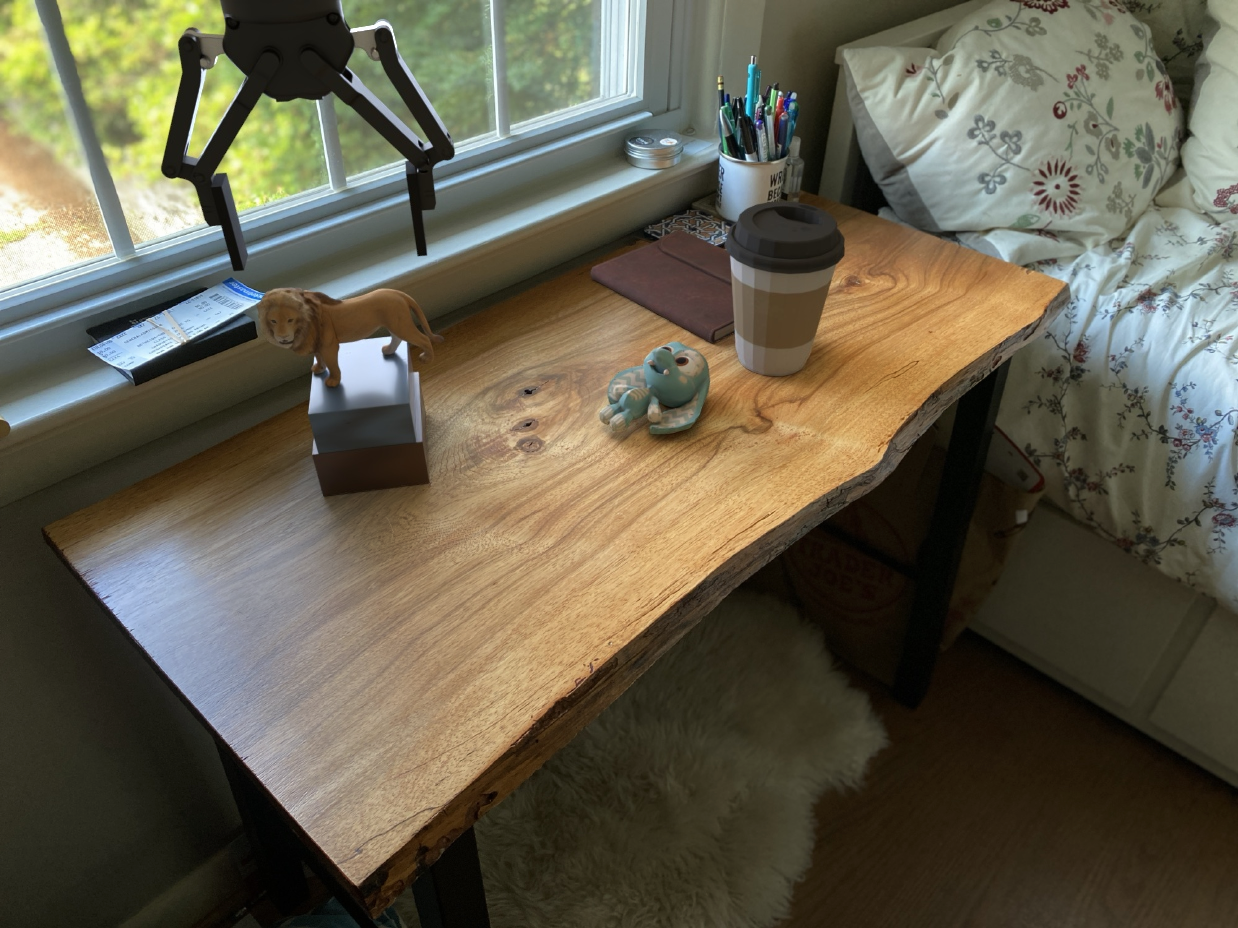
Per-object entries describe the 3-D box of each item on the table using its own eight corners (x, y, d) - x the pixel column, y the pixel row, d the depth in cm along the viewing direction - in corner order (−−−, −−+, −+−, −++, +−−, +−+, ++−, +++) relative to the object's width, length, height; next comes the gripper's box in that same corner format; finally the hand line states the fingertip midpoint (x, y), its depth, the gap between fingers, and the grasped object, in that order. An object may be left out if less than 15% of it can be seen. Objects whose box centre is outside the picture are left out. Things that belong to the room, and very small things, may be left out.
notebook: (710, 345, 98) (712, 328, 97) (590, 280, 110) (590, 264, 109) (802, 298, 106) (805, 283, 105) (681, 242, 118) (681, 227, 116)
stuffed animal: (562, 364, 85) (659, 302, 90) (576, 421, 90) (667, 359, 95) (638, 416, 79) (738, 346, 83) (649, 474, 84) (743, 405, 88)
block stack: (322, 496, 79) (301, 415, 74) (328, 422, 88) (309, 344, 82) (429, 483, 81) (415, 402, 75) (425, 411, 89) (412, 334, 84)
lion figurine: (289, 411, 75) (261, 311, 69) (269, 380, 78) (241, 283, 72) (456, 357, 81) (443, 261, 75) (431, 330, 84) (417, 238, 79)
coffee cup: (847, 353, 97) (871, 216, 88) (790, 401, 90) (809, 259, 81) (755, 319, 103) (768, 187, 93) (694, 362, 96) (702, 224, 86)
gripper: (464, -70, 64) (490, 223, 77) (74, -59, 60) (171, 248, 73) (472, -50, 58) (498, 263, 71) (41, -37, 54) (152, 292, 67)
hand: (332, 256), depth 72 cm, fingers open, 13 cm apart
